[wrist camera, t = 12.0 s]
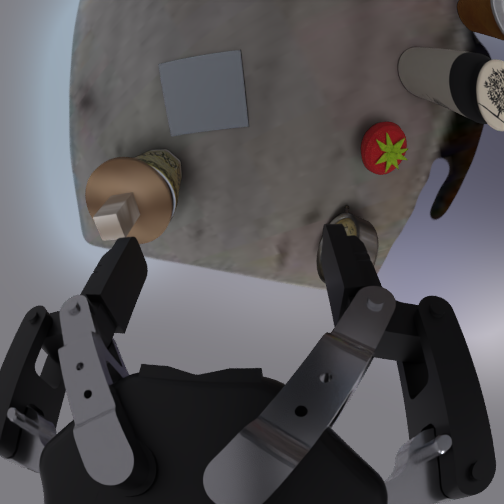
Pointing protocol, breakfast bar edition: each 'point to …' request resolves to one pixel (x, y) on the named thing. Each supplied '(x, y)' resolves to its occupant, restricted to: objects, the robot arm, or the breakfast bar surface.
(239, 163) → the breakfast bar surface
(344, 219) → the alarm clock
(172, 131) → the mat
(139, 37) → the breakfast bar surface
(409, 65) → the travel mug
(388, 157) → the strawberry
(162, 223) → the lid
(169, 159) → the ceramic cup
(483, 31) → the disposable coffee cup
